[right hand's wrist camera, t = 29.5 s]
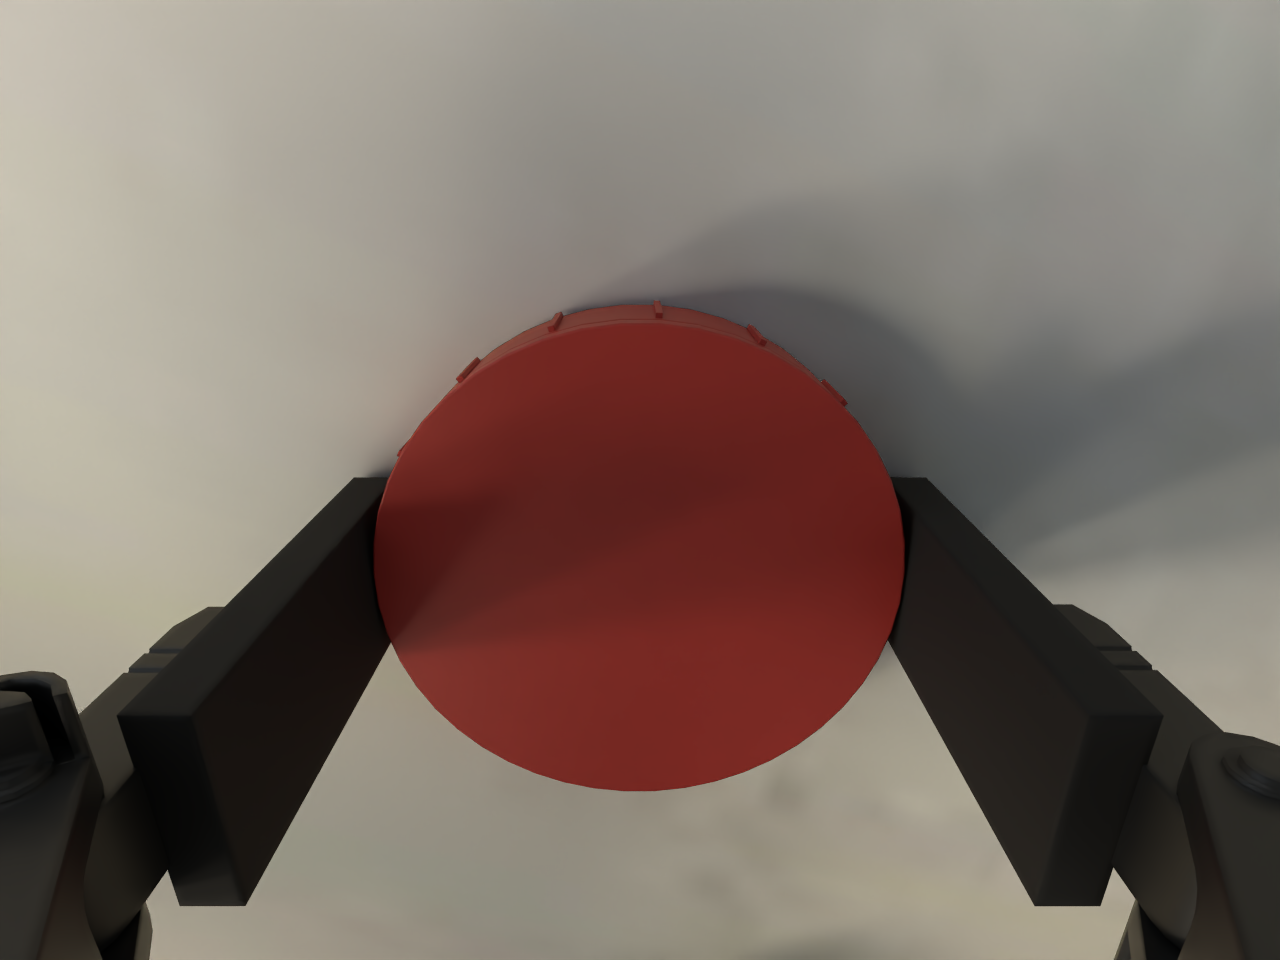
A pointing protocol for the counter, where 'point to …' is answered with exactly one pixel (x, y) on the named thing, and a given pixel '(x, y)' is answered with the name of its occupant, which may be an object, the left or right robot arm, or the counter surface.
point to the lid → (639, 550)
